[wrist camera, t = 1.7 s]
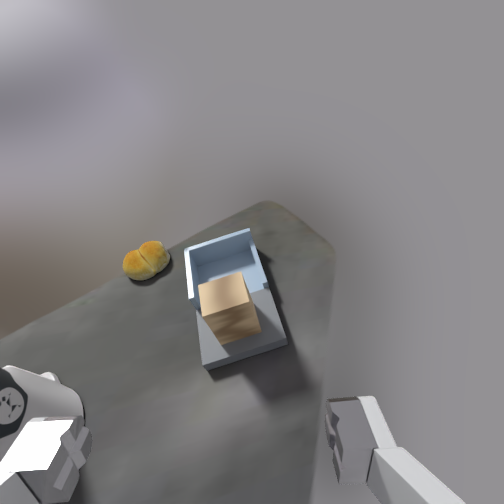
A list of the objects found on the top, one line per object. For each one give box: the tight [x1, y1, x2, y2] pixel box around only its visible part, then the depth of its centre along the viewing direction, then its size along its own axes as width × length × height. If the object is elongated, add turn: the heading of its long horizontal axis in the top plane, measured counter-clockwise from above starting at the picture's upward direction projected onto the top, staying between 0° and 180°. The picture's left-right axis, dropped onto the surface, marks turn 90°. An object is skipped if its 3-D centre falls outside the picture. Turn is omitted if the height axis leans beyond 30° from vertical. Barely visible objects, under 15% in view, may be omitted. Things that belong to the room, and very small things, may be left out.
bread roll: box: [123, 241, 170, 280], centre depth 58 cm, size 8×9×4 cm
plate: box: [196, 287, 288, 371], centre depth 44 cm, size 12×9×2 cm
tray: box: [184, 228, 269, 310], centre depth 50 cm, size 12×11×5 cm
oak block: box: [198, 271, 262, 345], centre depth 41 cm, size 6×5×8 cm
